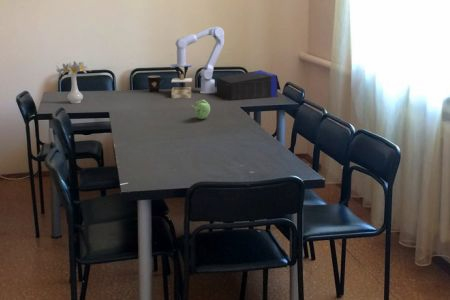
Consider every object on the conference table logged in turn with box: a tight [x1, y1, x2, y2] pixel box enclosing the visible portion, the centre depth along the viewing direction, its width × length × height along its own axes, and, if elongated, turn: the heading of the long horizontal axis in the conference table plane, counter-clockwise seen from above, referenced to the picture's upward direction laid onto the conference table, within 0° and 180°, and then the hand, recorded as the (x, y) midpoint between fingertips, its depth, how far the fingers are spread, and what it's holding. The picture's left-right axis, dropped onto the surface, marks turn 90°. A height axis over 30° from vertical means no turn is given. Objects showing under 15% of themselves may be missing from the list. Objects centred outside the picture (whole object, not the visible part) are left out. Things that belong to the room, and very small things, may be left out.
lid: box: [171, 73, 193, 83], centre depth 379 cm, size 13×13×4 cm
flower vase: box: [55, 61, 88, 104], centre depth 352 cm, size 13×18×25 cm
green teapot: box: [190, 99, 211, 120], centre depth 308 cm, size 12×11×11 cm
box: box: [171, 86, 192, 99], centre depth 373 cm, size 12×12×5 cm
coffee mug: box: [147, 75, 167, 93], centre depth 390 cm, size 12×9×10 cm
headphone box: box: [216, 69, 282, 102], centre depth 374 cm, size 25×35×14 cm
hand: (181, 78), depth 379 cm, fingers closed on lid, 3 cm apart
